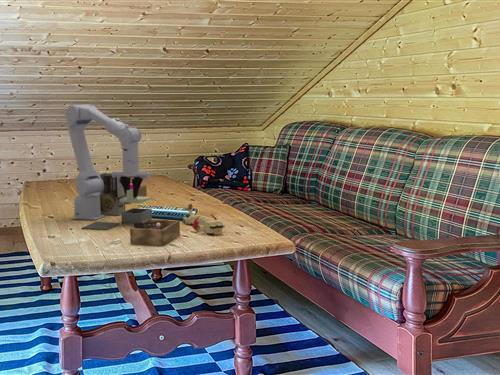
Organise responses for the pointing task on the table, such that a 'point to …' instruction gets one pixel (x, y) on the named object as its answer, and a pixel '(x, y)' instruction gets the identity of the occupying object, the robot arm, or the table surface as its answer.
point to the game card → (141, 225)
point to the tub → (136, 215)
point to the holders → (154, 229)
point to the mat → (101, 226)
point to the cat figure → (203, 222)
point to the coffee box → (111, 195)
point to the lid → (131, 198)
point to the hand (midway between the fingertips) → (131, 197)
